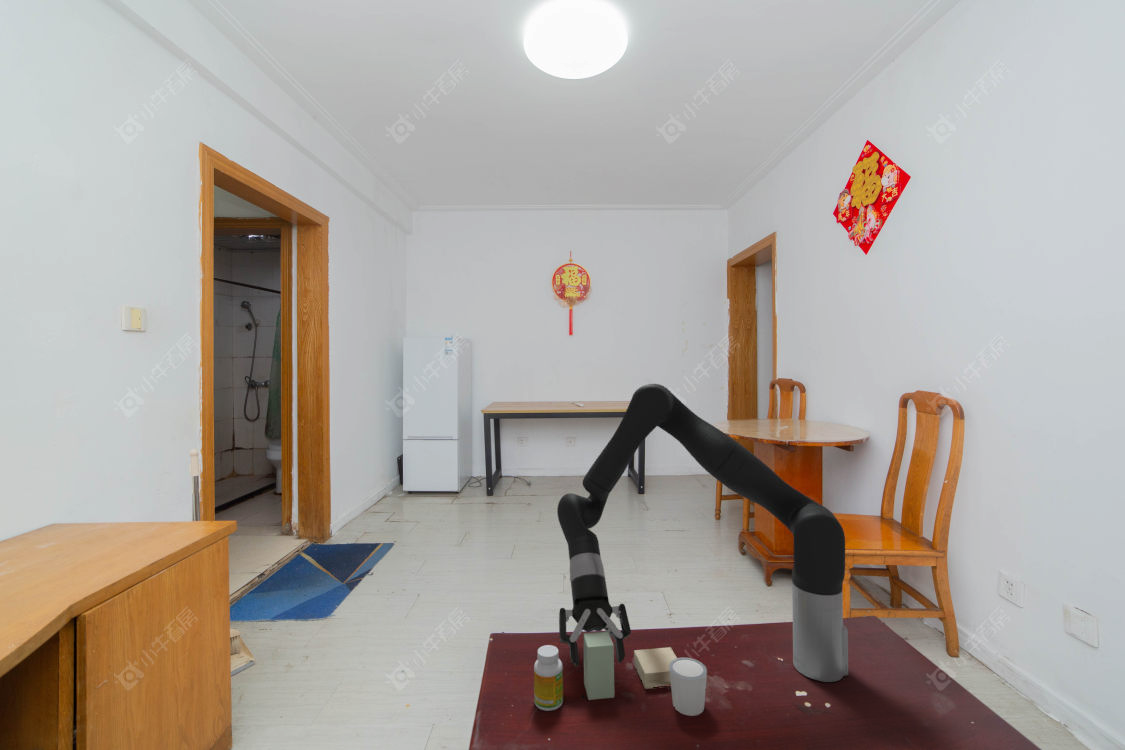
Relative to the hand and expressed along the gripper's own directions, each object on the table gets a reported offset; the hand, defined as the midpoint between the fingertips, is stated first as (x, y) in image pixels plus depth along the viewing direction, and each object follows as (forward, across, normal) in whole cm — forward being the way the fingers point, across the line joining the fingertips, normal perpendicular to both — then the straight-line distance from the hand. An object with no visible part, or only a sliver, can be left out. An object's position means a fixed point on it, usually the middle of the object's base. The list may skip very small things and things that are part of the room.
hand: (598, 663), depth 95 cm
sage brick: (+4, 0, +4) cm, 6 cm away
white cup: (+8, +16, 0) cm, 18 cm away
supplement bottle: (+5, -10, +3) cm, 12 cm away
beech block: (+1, +13, +6) cm, 15 cm away
